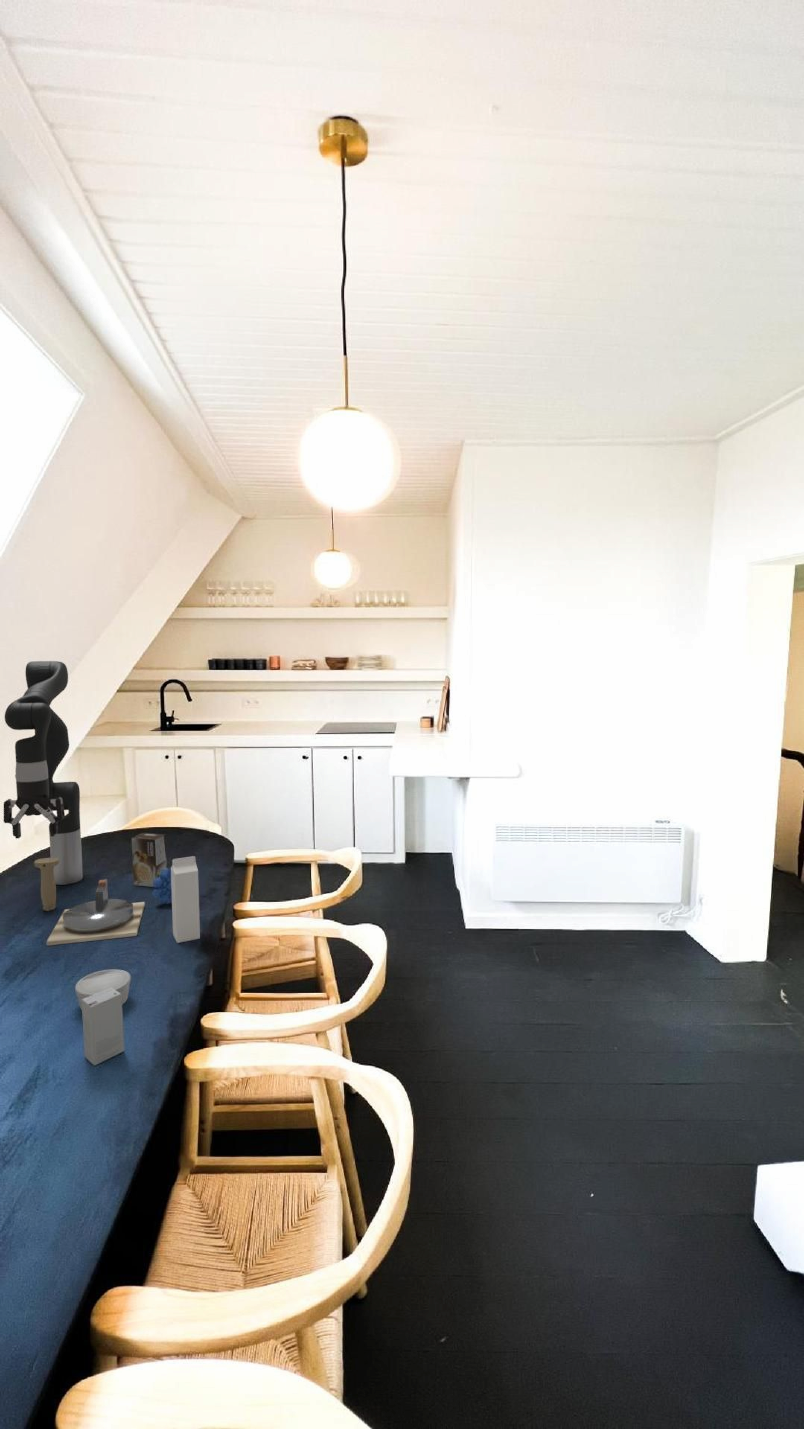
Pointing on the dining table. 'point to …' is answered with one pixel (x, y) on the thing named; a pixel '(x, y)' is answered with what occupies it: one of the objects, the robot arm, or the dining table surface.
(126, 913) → the dial
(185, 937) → the milk
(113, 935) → the base plate
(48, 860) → the handle
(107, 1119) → the dining table surface
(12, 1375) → the dining table surface
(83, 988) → the ramekin
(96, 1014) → the skincare box
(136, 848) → the coffee box
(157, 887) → the grapes
